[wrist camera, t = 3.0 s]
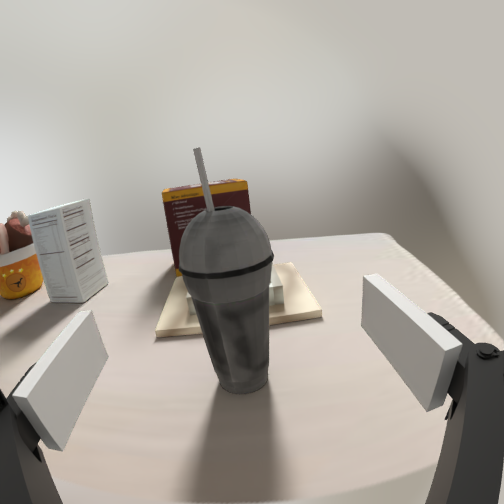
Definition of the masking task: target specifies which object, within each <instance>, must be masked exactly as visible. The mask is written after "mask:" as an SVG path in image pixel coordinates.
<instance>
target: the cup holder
mask: <svg viewBox="0 0 504 504" xmlns="http://www.w3.org/2000/svg"><path fill="white" fill-rule="evenodd" d="M318 317H322V309H321V307H320V306H319V304H318V302H317V301H316V299H315V298H314V296H313V295H312V293H311V292H310V290H309V288H308V287H307V285H306V284H305V282H304V281H303V279H302V278H301V276H300V275H299V273H298V271H297V270H296V268H295V267H294V265H293V264H292V262H290V263H282V264H275V265H273V263H272V271H271V280H270V285H269V325H274V324H281V323H287V322H293V321H300V320H306V319H312V318H318ZM155 332H156V336H157V337H169V336H181V335H192V334H202V330H201V327H200V324H199V321H198V318H197V314H196V311H195V308H194V304H193V301H192V298H191V295H190V294H189V293H188V290H187V288H186V286H185V283H184V281H183V277H182V276H180V277H176V278H175V281H174V283H173V286H172V288H171V291H170V293H169V296H168V298H167V301H166V303H165V306H164V308H163V311H162V314H161V316H160V319H159V321H158V324H157V327H156V329H155Z"/></svg>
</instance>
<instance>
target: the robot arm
mask: <svg viewBox="0 0 504 504" xmlns="http://www.w3.org/2000/svg"><path fill="white" fill-rule="evenodd" d="M361 326H362V328H363V329H364V330H365V331H366V333H367V334H368V335H369V337H370V338H371V339H372V340H373V342H374V343H375V344H376V345H377V347H378V348H379V349H380V351H381V352H382V353H383V355H384V356H385V357H386V358H387V360H388V361H389V362H390V364H391V365H392V366H393V368H394V369H395V370H396V372H397V373H398V374H399V375H400V377H401V378H402V379H403V381H404V382H405V383H406V385H407V386H408V387H409V389H410V390H411V391H412V393H413V394H414V396H415V397H416V398H417V400H418V401H419V402H420V404H421V405H422V406H423V408H424V409H425V410H426V412H428V411H431V410H433V409H435V408H437V407H440V406H442V405H443V404H444V401H445V399H446V396H447V393H448V394H449V395H450V396H451V397H452V399H453V400H452V403H451V405H450V408H449V410H448V412H447V415H446V417H445V420H447V419H448V421H447V426H446V431H445V436H444V440H443V445H442V449H441V453H440V457H439V461H438V465H437V468H436V472H435V475H434V479H433V482H432V485H431V488H430V491H429V494H428V497H427V500H426V503H425V504H498V499H499V493H500V487H501V479H502V471H503V460H504V351H500V350H499V349H498V348H497V347H495V346H493V345H492V344H488V343H477V344H474V343H473V342H472V341H470V340H469V339H468V338H467V337H466V336H465V335H463V334H462V333H461V332H460V331H459V330H457V329H455V327H454V326H452V325H451V324H449V322H448V321H446V320H445V319H444V318H443V317H441V316H439V315H436V314H434V313H432V312H431V313H426V312H425V311H423V310H422V309H421V308H420V307H418V306H417V305H416V304H415V303H414V302H412V301H411V300H410V299H409V298H407V297H406V296H405V295H404V294H402V293H401V292H400V291H399V290H397V289H396V288H395V287H394V286H392V285H391V284H390V283H389V282H387V281H386V280H385V279H384V278H382V277H381V276H380V275H378V274H371V275H366V276H363V298H362V319H361ZM107 359H108V354H107V352H106V349H105V347H104V344H103V341H102V338H101V336H100V333H99V330H98V327H97V324H96V322H95V319H94V316H93V313H92V310H90V311H79V312H78V313H77V315H76V316H75V317H74V318H73V319H72V320H71V321H70V323H69V324H68V325H67V326H66V327H65V328H64V330H63V331H62V332H61V333H60V334H59V336H58V337H57V338H56V339H55V340H54V342H53V343H52V344H51V345H50V347H49V348H48V349H47V350H46V351H45V353H44V354H43V355H42V356H41V358H40V359H39V360H38V361H37V362H36V363H35V364H34V365H32V366H31V367H30V368H29V369H28V371H27V372H26V373H25V376H23V377H22V378H21V380H20V382H18V384H17V385H16V386H15V388H14V389H13V390H12V392H11V393H10V394H9V396H8V397H7V399H6V398H5V396H4V394H3V393H2V391H1V389H0V504H63V503H62V501H61V498H60V496H59V494H58V491H57V489H56V487H55V485H54V482H53V479H52V477H51V474H50V472H49V469H48V466H47V464H46V461H45V458H44V455H43V452H42V450H41V448H40V447H39V446H38V442H39V440H40V438H41V440H42V441H43V442H44V444H45V445H46V446H47V447H48V448H49V449H53V450H58V451H63V450H64V448H65V446H66V443H67V441H68V439H69V437H70V434H71V432H72V430H73V428H74V426H75V423H76V421H77V419H78V417H79V415H80V413H81V411H82V409H83V406H84V404H85V402H86V400H87V398H88V396H89V394H90V392H91V390H92V388H93V386H94V384H95V382H96V380H97V378H98V376H99V374H100V372H101V370H102V369H103V367H104V365H105V363H106V361H107Z"/></svg>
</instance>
